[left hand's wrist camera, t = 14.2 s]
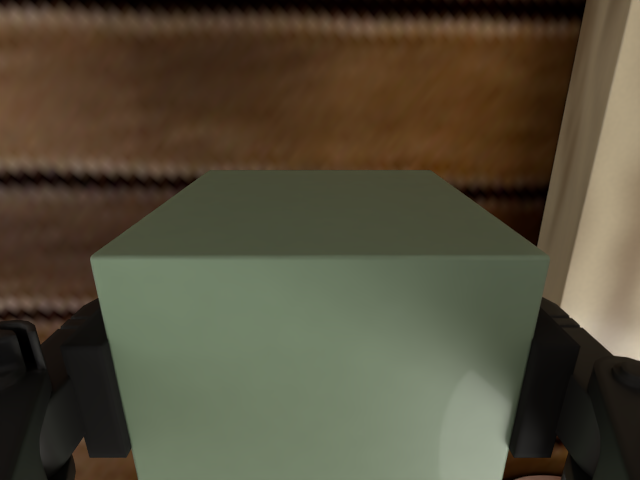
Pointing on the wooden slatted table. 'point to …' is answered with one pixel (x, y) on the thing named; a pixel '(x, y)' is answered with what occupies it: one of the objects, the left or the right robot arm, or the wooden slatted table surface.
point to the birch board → (599, 183)
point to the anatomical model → (540, 477)
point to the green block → (320, 328)
